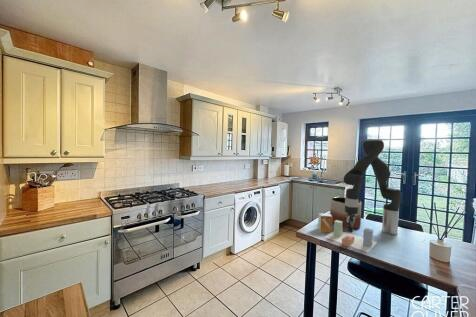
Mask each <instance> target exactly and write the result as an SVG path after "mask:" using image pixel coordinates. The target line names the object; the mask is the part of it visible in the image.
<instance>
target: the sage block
mask: <svg viewBox="0 0 476 317" xmlns="http://www.w3.org/2000/svg"><path fill="white" fill-rule="evenodd" d="M342 224H343V222H342V221H338V220H336V221H334V224H333V231H334V236H337V237H341V236H342V232H343V227H342Z"/></svg>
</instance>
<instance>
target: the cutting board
mask: <svg viewBox="0 0 476 317" xmlns="http://www.w3.org/2000/svg"><path fill="white" fill-rule="evenodd" d="M347 234H349V235H353V236H354V243H353V244H351V245H350V246H349V247H351V248H354V249H357V250H360V251H363V252H366V253H369V252H370V251H371V250H372V249H373V248H374V247H375V246H376V244H377V243H378V241H375V240H372V246H371V247H368V246H365V245H363V237H361V236H359V235H355V234H352V233H350V232H345V231H342V236H341V237H337V236H334V230H332V232H329V234H327V235H325V236H324V239H328V240H331V241H334V242H337V243H340V244H342V238H343V237H345V236H346V235H347Z"/></svg>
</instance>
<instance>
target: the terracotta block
mask: <svg viewBox="0 0 476 317" xmlns="http://www.w3.org/2000/svg"><path fill="white" fill-rule="evenodd" d="M349 234H350V233H349ZM349 234H347V235H346V236H345V237H343V238H342V243H341V245H342V246H345V247H347V248H348V247H351V246H350V245H351V244H353V243H354V236H353V235H354V234H352V235H349Z"/></svg>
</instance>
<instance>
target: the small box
mask: <svg viewBox="0 0 476 317" xmlns="http://www.w3.org/2000/svg"><path fill="white" fill-rule="evenodd" d="M332 218H333V216H331V215H330V213H323V212H321V213H319V212H318V220H317V223H318V224H317V229H318V232H320V233H332V232H333V224H332Z"/></svg>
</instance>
